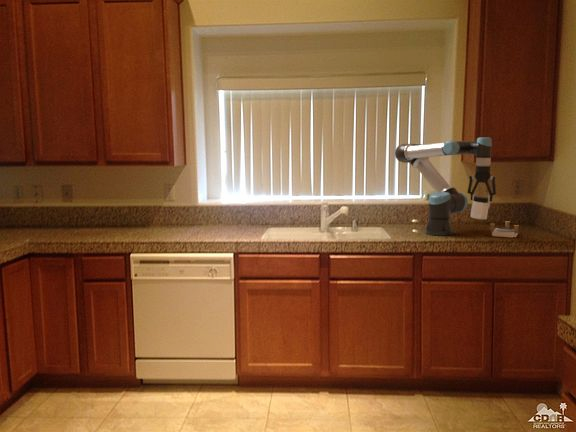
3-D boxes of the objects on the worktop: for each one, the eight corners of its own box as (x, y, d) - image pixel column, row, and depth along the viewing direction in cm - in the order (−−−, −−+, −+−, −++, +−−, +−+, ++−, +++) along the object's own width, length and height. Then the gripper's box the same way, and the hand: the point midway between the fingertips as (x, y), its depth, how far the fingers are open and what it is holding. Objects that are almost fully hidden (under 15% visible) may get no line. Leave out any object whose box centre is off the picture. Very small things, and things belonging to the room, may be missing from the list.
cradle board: (489, 235, 282) (489, 224, 281) (493, 231, 295) (494, 220, 294) (517, 237, 275) (518, 226, 274) (521, 233, 288) (521, 222, 287)
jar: (468, 217, 282) (471, 196, 280) (472, 215, 289) (475, 195, 287) (484, 220, 278) (488, 198, 275) (488, 218, 284) (491, 197, 282)
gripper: (462, 165, 280) (460, 206, 284) (501, 166, 270) (499, 208, 274) (465, 164, 287) (463, 204, 290) (503, 165, 277) (501, 207, 280)
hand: (480, 206), depth 282 cm, fingers closed on jar, 7 cm apart
